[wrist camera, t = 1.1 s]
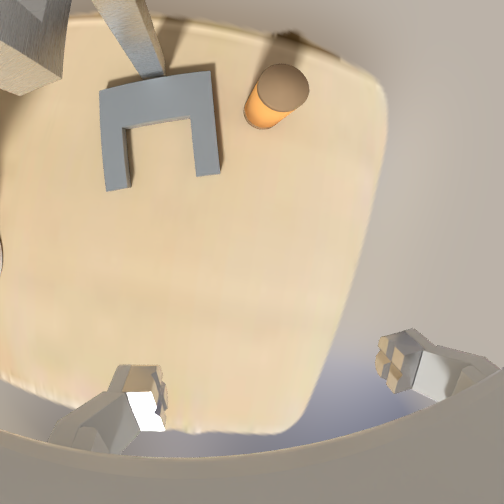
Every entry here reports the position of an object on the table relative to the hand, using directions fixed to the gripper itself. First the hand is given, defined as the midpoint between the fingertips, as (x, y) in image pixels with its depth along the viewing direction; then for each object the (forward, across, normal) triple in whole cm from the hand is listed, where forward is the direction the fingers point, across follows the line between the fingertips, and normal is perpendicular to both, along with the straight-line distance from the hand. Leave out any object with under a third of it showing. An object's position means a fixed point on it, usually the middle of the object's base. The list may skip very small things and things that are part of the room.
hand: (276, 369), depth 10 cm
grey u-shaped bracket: (+31, -9, +14) cm, 35 cm away
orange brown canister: (+31, +5, +15) cm, 35 cm away
